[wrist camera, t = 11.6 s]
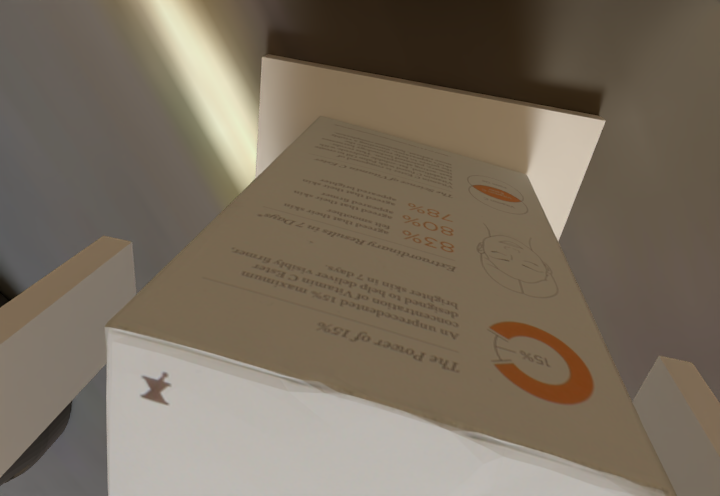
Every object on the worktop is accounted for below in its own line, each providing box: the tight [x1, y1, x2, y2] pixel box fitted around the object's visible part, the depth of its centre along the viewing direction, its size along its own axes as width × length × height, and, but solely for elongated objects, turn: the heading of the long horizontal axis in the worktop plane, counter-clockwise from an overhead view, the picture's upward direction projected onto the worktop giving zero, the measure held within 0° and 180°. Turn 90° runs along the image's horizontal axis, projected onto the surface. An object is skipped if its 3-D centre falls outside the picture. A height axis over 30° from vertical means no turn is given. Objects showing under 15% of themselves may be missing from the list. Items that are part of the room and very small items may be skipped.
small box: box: [104, 116, 677, 496], centre depth 13 cm, size 8×6×13 cm
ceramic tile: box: [256, 54, 605, 241], centre depth 19 cm, size 12×10×1 cm
